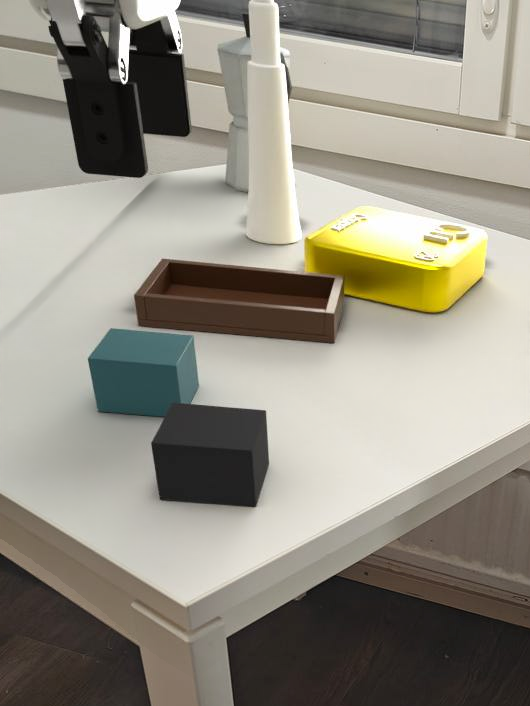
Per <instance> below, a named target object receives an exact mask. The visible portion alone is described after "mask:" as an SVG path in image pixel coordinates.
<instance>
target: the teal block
mask: <svg viewBox="0 0 530 706" xmlns="http://www.w3.org/2000/svg"><path fill="white" fill-rule="evenodd" d="M87 363H88V368H89V372H90V378H91V382H92V388H93V394H94V400H95V405H96V410H97V412H99V413H102V412H103V413H110V414H111V413H112V414H124V415H137V416H147V417H148V416H149V417H163V418H165V416H166V414H167V412H168V410H169V409H170V407H171V405H172V403H183V404H192V401H193V399H194V397H195V395H196V393H197V392H198V391H197V390H198V389H199V387H200V382H199V373H198V364H197V354H196V344H195V336H194V334H193V335H192V334H181V333H172V332H171V333H170V332H159V331H149V330H135V329H124V328H115V327H114V328H113V327H111V328H109V330H108V331H107V332H106V333H105V335H104V336H103V338H102V339H101V340H100V341H99V343H98V344H97V346H96V347H95V348H94V349H93V350H92V352H91V353H90V355H89V356H88V357H87Z"/></svg>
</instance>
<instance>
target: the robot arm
mask: <svg viewBox="0 0 530 706" xmlns="http://www.w3.org/2000/svg"><path fill="white" fill-rule="evenodd" d="M28 2H29V4H30V6H31V8H32V10H33V11H34V13H36V14H37V15H38V16H39V17H40V18H41V19H43V20H44V21H46V22H48V23H49V25H47V27H48V32H49V35H50V36H51V38H53V41H54V43H55V46H56V62H57V68H58V73H59V75H60V77H61V79H62V82H63V83H62V84H63V89H64V94H65V99H66V100H65V101H66V105H67V111H68V115H69V117H68V118H69V121H70V122H69V123H70V126H71V132H72V137H73V143H74V144H73V145H74V150H75V153H76V154H75V155H76V160H77V165H78V167H79V169H80V170H81V171H82V173H85V174H87V175H98V176H99V175H100V176H108V177H109V176H112V177H121V178H134V179H141V178H143V177H145V176H146V175H147V173H148V172H149V163H148V156H147V149H146V141H145V135H156V136H166V137H168V136H169V137H178V138H186V137H188V136H189V135H190V134H191V133H192V130H193V128H192V127H193V126H192V117H191V109H190V101H189V100H190V99H189V91H188V82H187V73H186V63H185V54H184V53H182V50H183V38H182V33H181V29H180V25H179V21H178V18H177V14H176V11H177V10H178V8H179V6H180V3H181V0H28ZM103 32H104V33H108V39H107V40H108V42H106V40H105V38H104V36H103V34H102V33H103Z"/></svg>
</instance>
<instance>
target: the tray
mask: <svg viewBox="0 0 530 706" xmlns="http://www.w3.org/2000/svg"><path fill="white" fill-rule="evenodd" d="M133 299H134V305H135V312H136V319H137V325H138V326H139V327H147V328H148V327H150V328H159V329H160V328H161V329H171V330H183V331H195V332H205V333H206V332H207V333H218V334H226V335H227V334H229V335H239V336H240V335H241V336H249V337H261V338H262V337H263V338H272V339H273V338H274V339H283V340H284V339H285V340H296V341H306V342H307V341H308V342H317V343H330V344H335V342H336V337H337V334H338V329H339V326H340V322H341V319H342V314H343V309H344V307H345V294H344V276H341V275H330V274H320V273H309V272H305V271H297V270H286V269H277V268H265V267H256V266H245V265H236V264H235V265H234V264H224V263H214V262H213V263H212V262H203V261H193V260H181V259H171V258H164V257H163V258H161V259H160V261H159V262H158V263H157V265H156V266H155V267H154V268H153V269H152V271H151V273H149V275H148V276H147V277H146V279H145V280H144V281H143V283H142V284H141V285H140V287H139V288H138V289H137V291H136V292H135V293H134V294H133Z"/></svg>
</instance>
